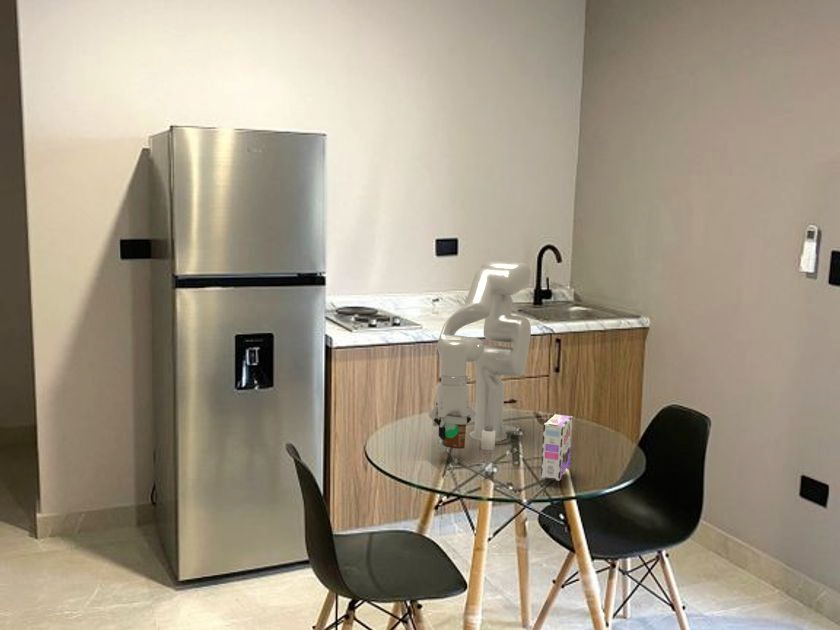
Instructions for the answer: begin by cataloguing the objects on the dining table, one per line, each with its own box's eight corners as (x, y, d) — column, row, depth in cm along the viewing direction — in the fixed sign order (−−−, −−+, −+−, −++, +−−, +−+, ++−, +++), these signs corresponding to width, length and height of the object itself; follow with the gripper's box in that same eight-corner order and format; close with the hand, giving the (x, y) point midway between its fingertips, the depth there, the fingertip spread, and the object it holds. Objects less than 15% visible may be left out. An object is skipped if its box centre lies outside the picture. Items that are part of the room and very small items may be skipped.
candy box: (559, 481, 247) (562, 425, 244) (540, 478, 249) (542, 423, 247) (570, 468, 259) (573, 415, 257) (551, 465, 261) (554, 413, 259)
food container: (433, 440, 267) (433, 408, 266) (451, 438, 269) (452, 407, 268) (447, 451, 256) (448, 419, 254) (466, 449, 258) (467, 417, 256)
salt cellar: (492, 446, 281) (493, 424, 280) (496, 450, 276) (497, 428, 276) (479, 446, 280) (480, 425, 279) (483, 450, 275) (484, 428, 275)
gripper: (476, 377, 265) (474, 434, 268) (423, 378, 261) (421, 436, 264) (484, 382, 258) (481, 440, 260) (429, 383, 254) (427, 443, 256)
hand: (451, 438), depth 262 cm, fingers closed on food container, 5 cm apart
